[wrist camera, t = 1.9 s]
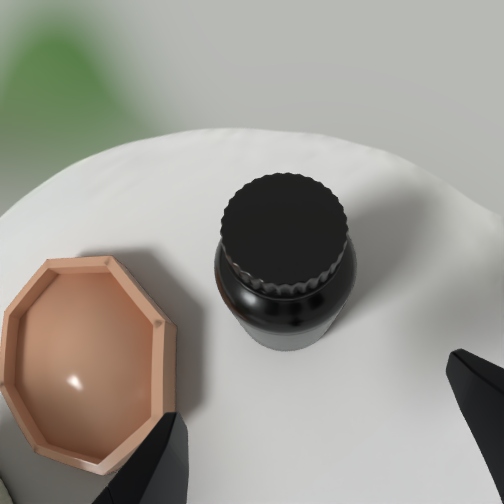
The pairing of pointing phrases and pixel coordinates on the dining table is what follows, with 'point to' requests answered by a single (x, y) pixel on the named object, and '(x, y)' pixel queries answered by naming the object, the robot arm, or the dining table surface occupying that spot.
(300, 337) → the supplement bottle
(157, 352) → the terracotta octagonal tray
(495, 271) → the dining table surface
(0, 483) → the canister
